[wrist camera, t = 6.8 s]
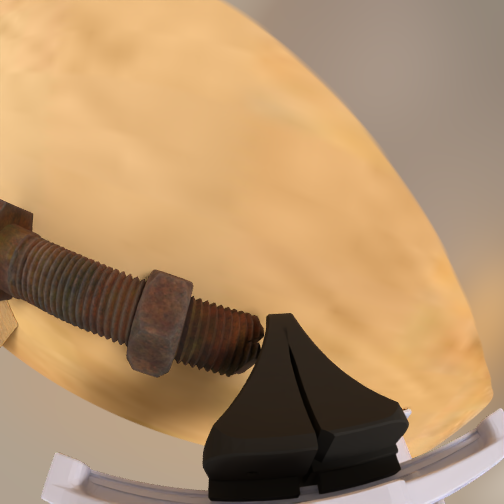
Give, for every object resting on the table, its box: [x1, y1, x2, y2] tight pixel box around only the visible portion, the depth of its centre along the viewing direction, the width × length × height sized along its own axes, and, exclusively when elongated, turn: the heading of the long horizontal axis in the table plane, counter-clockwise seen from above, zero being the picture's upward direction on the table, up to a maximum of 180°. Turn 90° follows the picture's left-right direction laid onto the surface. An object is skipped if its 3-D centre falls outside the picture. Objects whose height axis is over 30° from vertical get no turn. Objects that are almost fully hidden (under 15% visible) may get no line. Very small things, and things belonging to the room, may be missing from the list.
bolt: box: [0, 199, 264, 378], centre depth 11 cm, size 6×5×15 cm
